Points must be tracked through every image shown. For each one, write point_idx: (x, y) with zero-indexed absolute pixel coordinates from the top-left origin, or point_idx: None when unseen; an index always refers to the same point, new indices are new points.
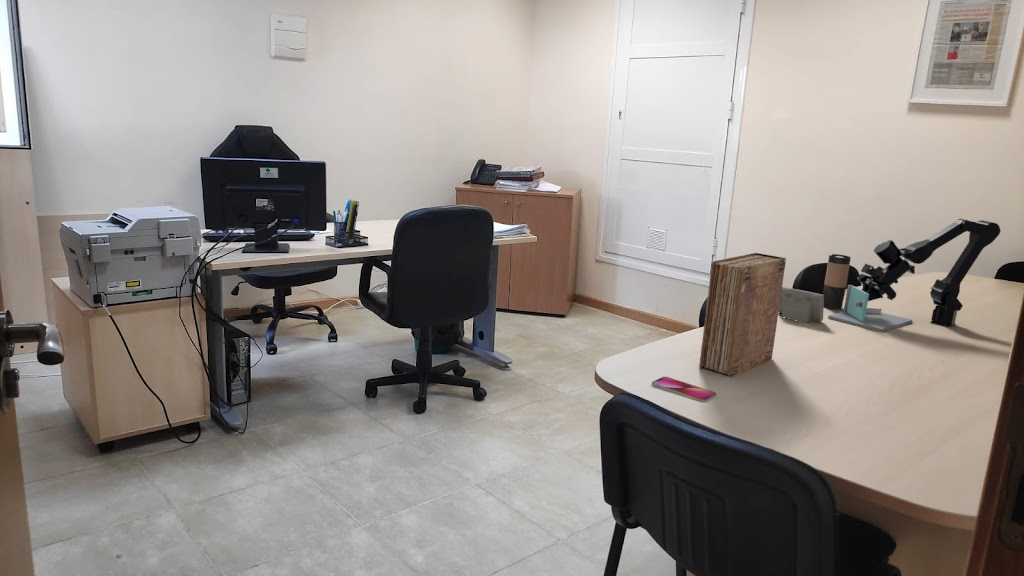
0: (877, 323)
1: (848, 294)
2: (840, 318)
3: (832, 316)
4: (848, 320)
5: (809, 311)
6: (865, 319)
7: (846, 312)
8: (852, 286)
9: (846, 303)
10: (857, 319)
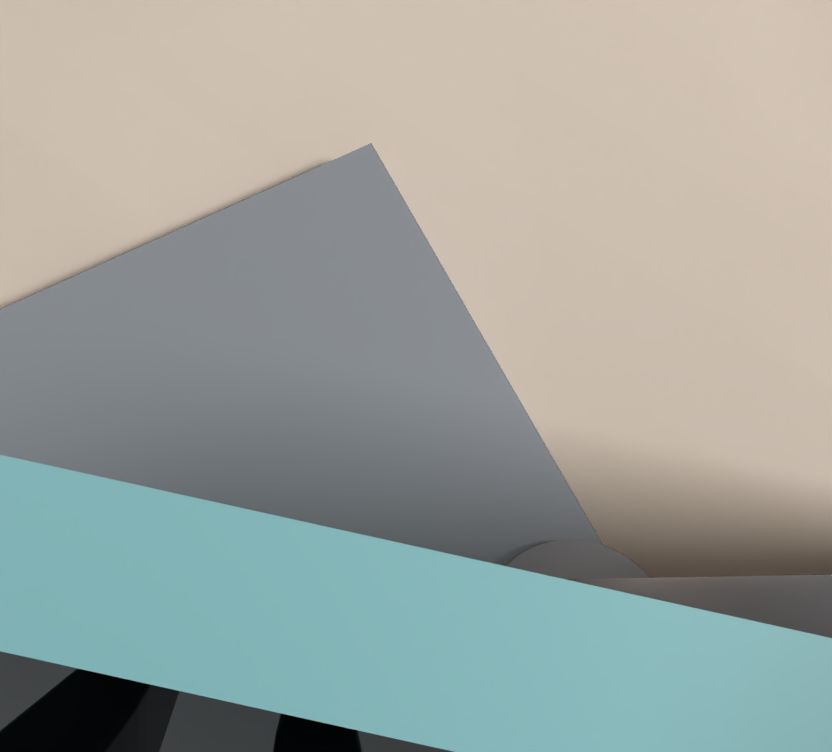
0: None
1: (685, 592)
2: (188, 241)
3: (318, 180)
4: (49, 302)
5: None
6: None
7: None
8: (714, 640)
9: (605, 586)
10: None
